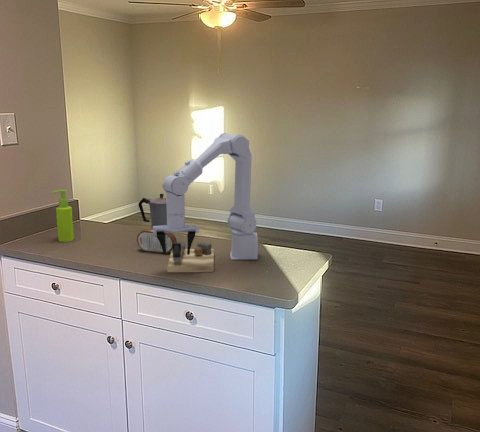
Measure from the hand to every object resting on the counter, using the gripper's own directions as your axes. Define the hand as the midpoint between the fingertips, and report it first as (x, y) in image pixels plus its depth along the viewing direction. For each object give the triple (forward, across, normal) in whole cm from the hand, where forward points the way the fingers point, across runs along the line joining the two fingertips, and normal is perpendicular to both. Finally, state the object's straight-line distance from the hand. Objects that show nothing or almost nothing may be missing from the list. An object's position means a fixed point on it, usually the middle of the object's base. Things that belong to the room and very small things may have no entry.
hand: (176, 253), depth 160 cm
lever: (+4, 0, +8) cm, 8 cm away
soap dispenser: (+6, -47, +38) cm, 61 cm away
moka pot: (+6, -9, +31) cm, 33 cm away
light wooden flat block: (+6, +5, +9) cm, 11 cm away
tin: (+6, -9, +21) cm, 24 cm away
